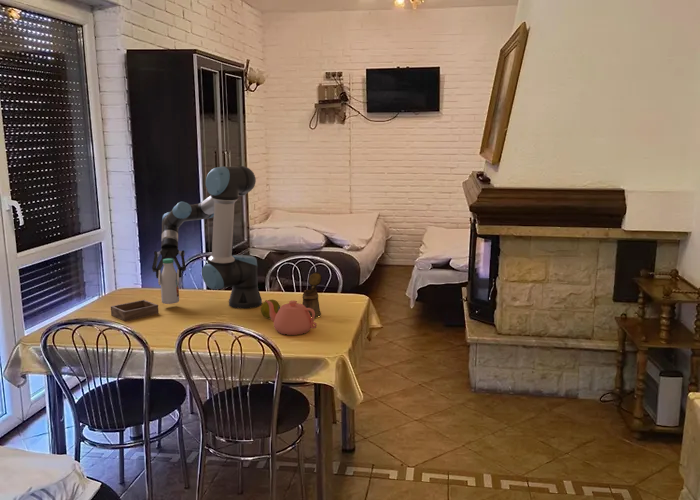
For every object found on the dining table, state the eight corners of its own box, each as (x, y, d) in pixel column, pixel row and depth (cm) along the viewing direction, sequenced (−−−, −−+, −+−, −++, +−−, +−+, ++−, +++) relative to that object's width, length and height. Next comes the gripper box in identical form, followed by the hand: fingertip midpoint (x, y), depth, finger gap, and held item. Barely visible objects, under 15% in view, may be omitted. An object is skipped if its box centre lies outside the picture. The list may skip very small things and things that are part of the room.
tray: (158, 313, 279) (158, 305, 279) (125, 321, 268) (124, 312, 268) (144, 308, 288) (143, 299, 287) (111, 315, 277) (110, 306, 276)
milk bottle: (174, 304, 285) (172, 261, 281) (158, 303, 286) (156, 260, 283) (182, 300, 292) (180, 257, 289) (166, 299, 294) (164, 257, 290)
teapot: (257, 334, 252) (257, 303, 250) (273, 323, 267) (272, 294, 265) (310, 339, 246) (310, 308, 244) (322, 327, 261) (322, 298, 259)
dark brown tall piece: (326, 311, 285) (326, 272, 281) (317, 319, 272) (316, 278, 269) (308, 309, 287) (307, 270, 284) (297, 317, 274) (297, 277, 271)
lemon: (270, 322, 268) (270, 303, 266) (256, 319, 272) (255, 301, 270) (285, 316, 277) (285, 298, 276) (271, 313, 281) (271, 295, 279)
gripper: (192, 245, 302) (192, 286, 289) (148, 247, 298) (146, 288, 285) (191, 236, 296) (191, 277, 283) (146, 237, 292) (144, 279, 279)
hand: (168, 283), depth 284 cm, fingers closed on milk bottle, 7 cm apart
